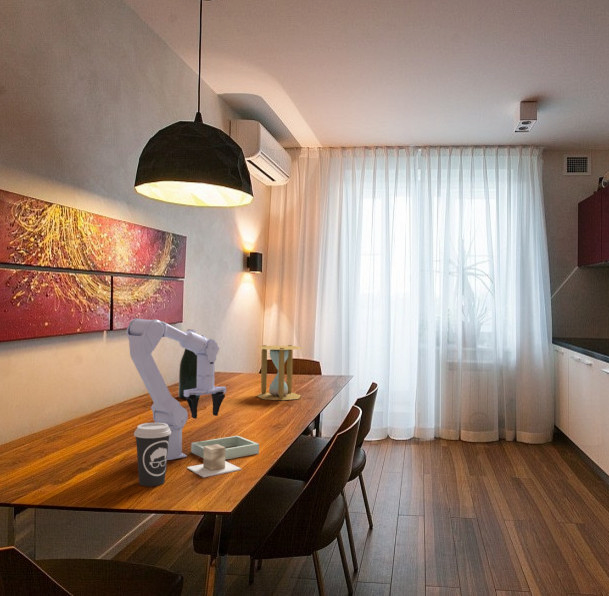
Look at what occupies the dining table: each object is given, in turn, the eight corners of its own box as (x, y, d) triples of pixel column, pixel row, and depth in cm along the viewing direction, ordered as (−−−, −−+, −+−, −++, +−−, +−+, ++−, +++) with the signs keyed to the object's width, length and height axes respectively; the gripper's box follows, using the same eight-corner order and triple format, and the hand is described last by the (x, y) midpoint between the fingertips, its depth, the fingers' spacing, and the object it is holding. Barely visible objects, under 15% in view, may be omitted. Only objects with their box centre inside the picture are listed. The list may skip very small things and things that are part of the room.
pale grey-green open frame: (210, 462, 169) (211, 452, 169) (191, 452, 180) (191, 442, 180) (258, 453, 180) (259, 443, 180) (237, 444, 190) (237, 435, 190)
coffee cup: (173, 476, 155) (174, 422, 155) (166, 488, 146) (167, 430, 146) (138, 476, 155) (139, 421, 155) (128, 488, 145) (129, 429, 145)
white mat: (203, 477, 155) (203, 476, 155) (187, 468, 163) (187, 467, 163) (241, 469, 162) (241, 468, 162) (223, 461, 170) (223, 460, 170)
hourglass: (254, 393, 291) (254, 344, 291) (297, 392, 295) (298, 344, 295) (258, 401, 268) (259, 348, 268) (305, 400, 272) (306, 348, 272)
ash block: (210, 471, 160) (211, 449, 160) (203, 467, 163) (203, 446, 163) (224, 468, 162) (225, 447, 162) (217, 464, 166) (217, 444, 166)
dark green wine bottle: (177, 396, 278) (178, 328, 278) (199, 395, 282) (200, 328, 281) (179, 400, 268) (180, 330, 268) (201, 399, 271) (202, 330, 271)
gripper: (190, 378, 179) (190, 421, 179) (231, 375, 188) (230, 416, 188) (181, 375, 184) (180, 417, 184) (220, 372, 193) (219, 412, 193)
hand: (204, 416), depth 186 cm, fingers open, 7 cm apart
